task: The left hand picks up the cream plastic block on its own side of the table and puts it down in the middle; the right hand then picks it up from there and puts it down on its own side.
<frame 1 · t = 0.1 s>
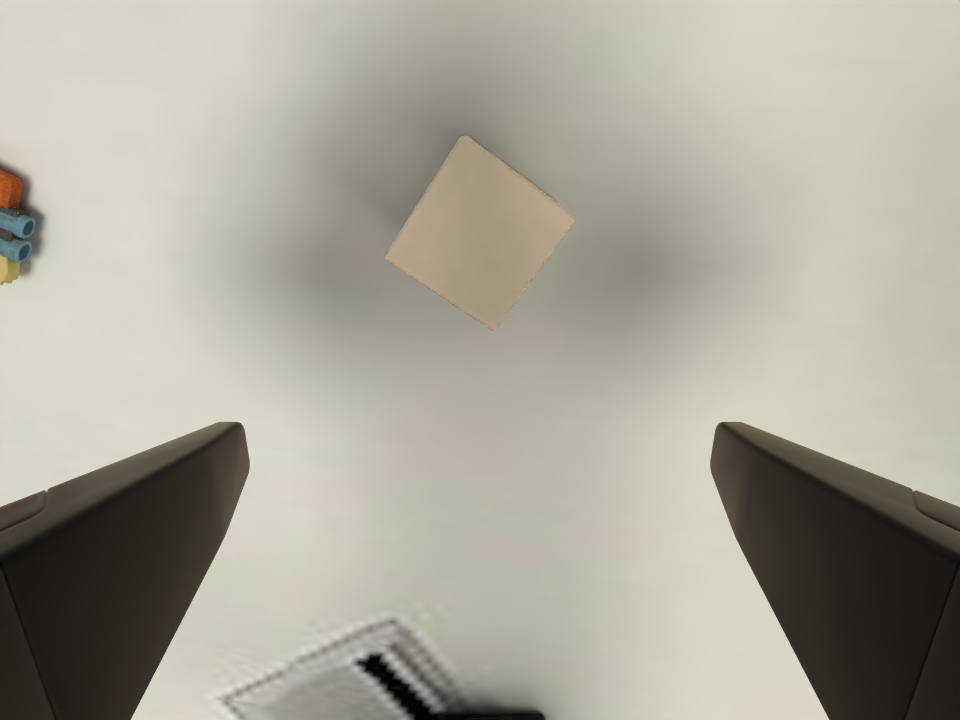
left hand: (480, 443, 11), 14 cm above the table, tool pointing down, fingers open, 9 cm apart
block: (478, 218, 24), on the table
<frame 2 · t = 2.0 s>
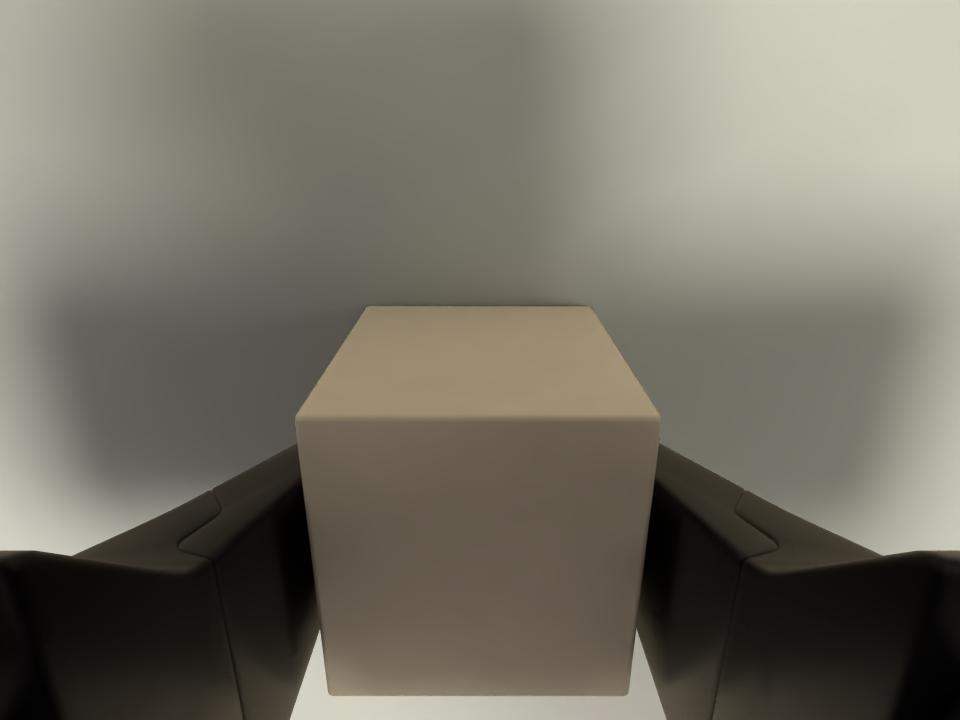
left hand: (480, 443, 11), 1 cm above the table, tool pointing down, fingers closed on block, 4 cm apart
block: (478, 410, 13), on the table, touching left hand
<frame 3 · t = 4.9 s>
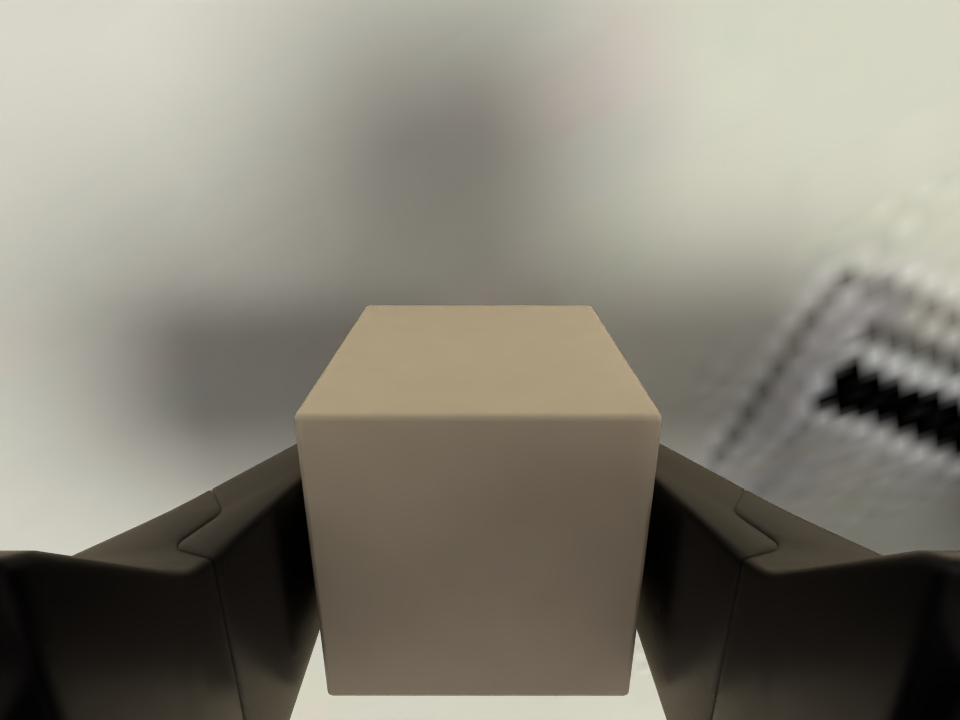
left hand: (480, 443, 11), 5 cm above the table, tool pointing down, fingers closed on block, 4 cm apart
block: (478, 410, 13), point 4 cm above the table, touching left hand
when the left hand's fingers open (2 cm above the table, at t = 8.0 s): block stays where it is, on the table.
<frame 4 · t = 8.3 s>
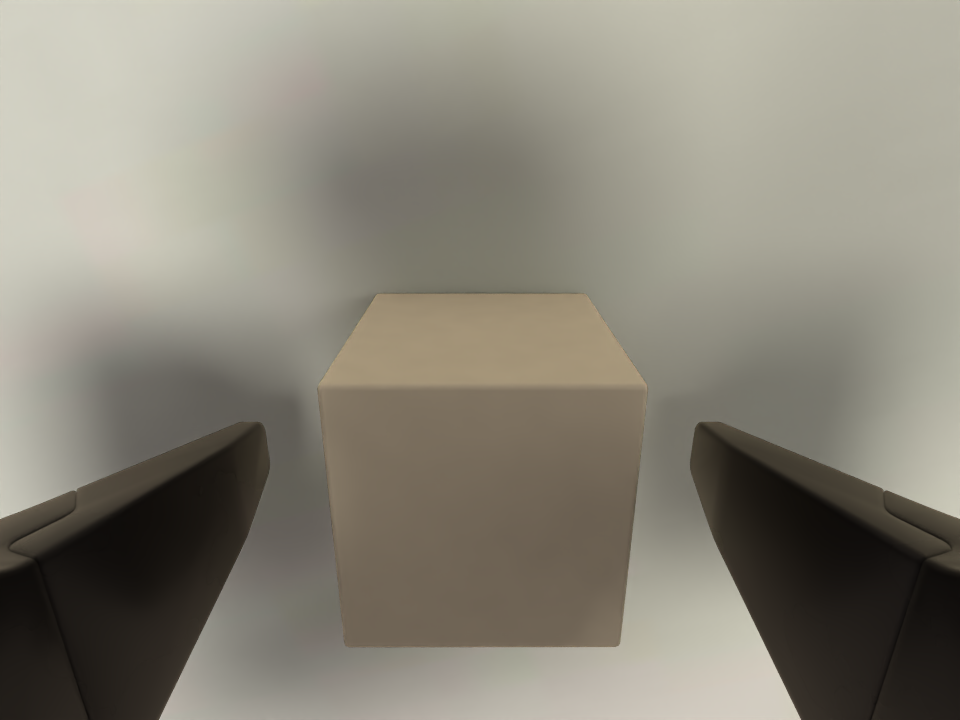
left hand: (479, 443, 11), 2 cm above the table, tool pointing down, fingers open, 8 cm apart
block: (481, 392, 13), on the table
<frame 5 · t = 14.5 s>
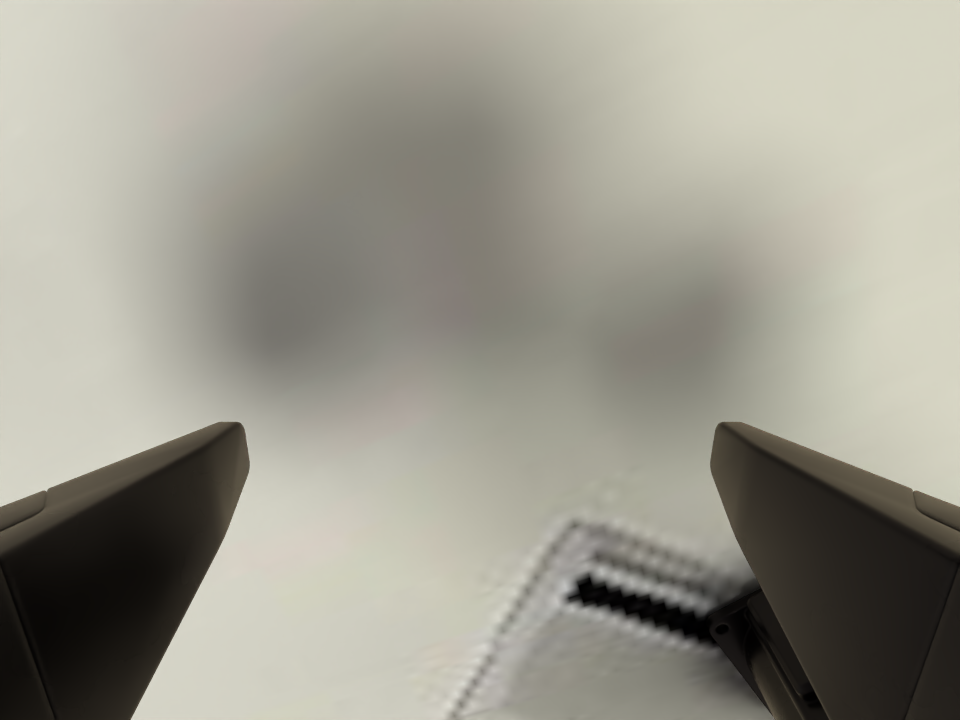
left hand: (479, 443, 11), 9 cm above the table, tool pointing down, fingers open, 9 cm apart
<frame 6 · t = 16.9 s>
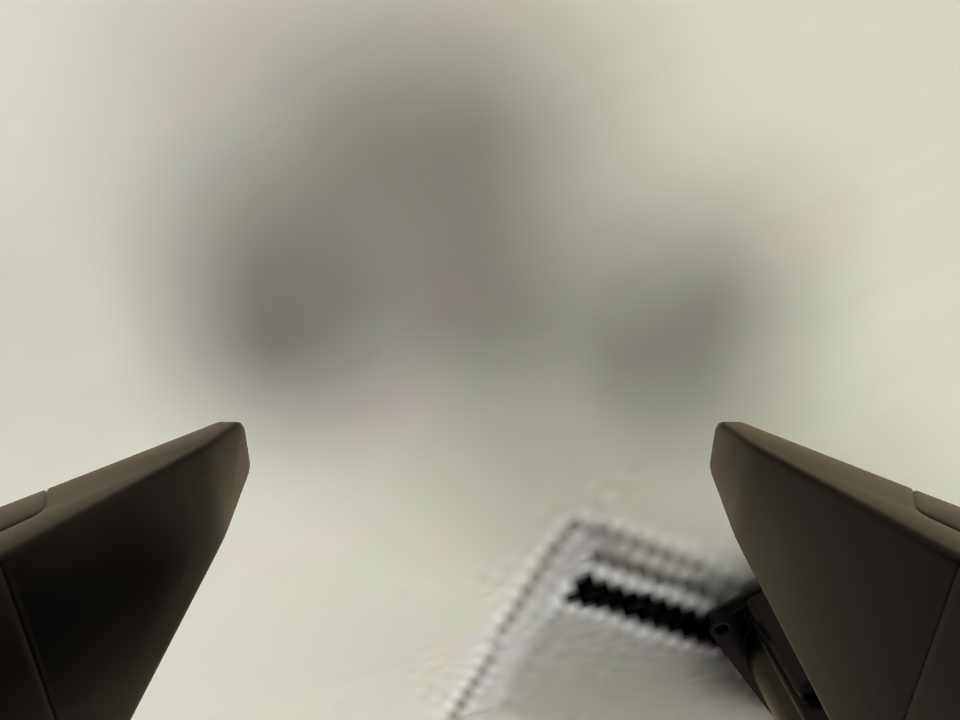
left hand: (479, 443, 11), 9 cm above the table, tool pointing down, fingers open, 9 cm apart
when the right hand's fingers open (2 cm above the table, at t = 19.4 s): block stays where it is, on the table.
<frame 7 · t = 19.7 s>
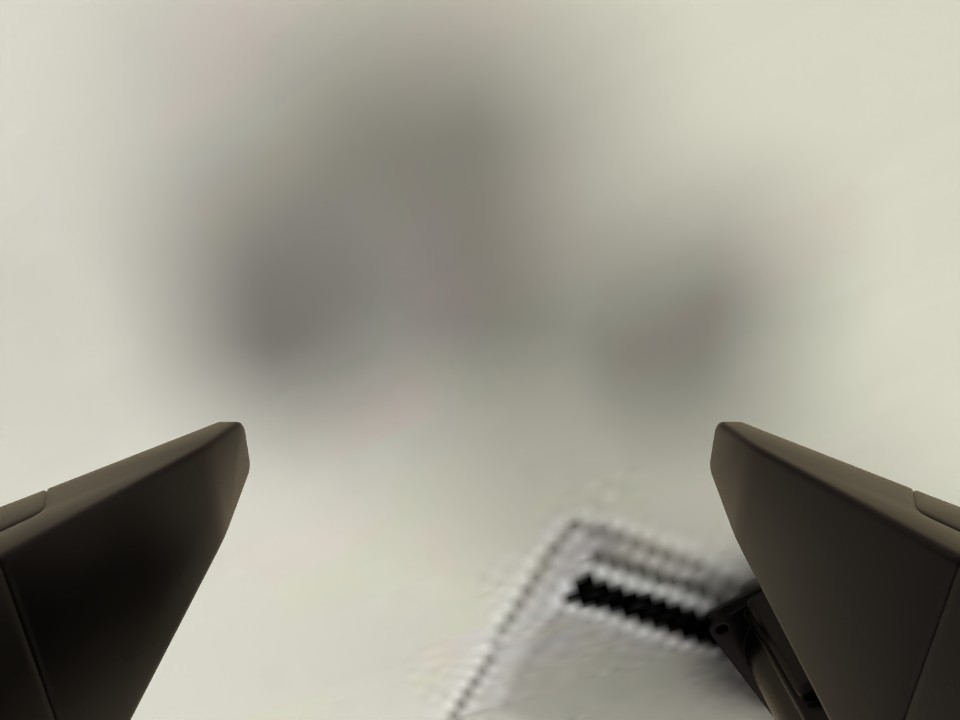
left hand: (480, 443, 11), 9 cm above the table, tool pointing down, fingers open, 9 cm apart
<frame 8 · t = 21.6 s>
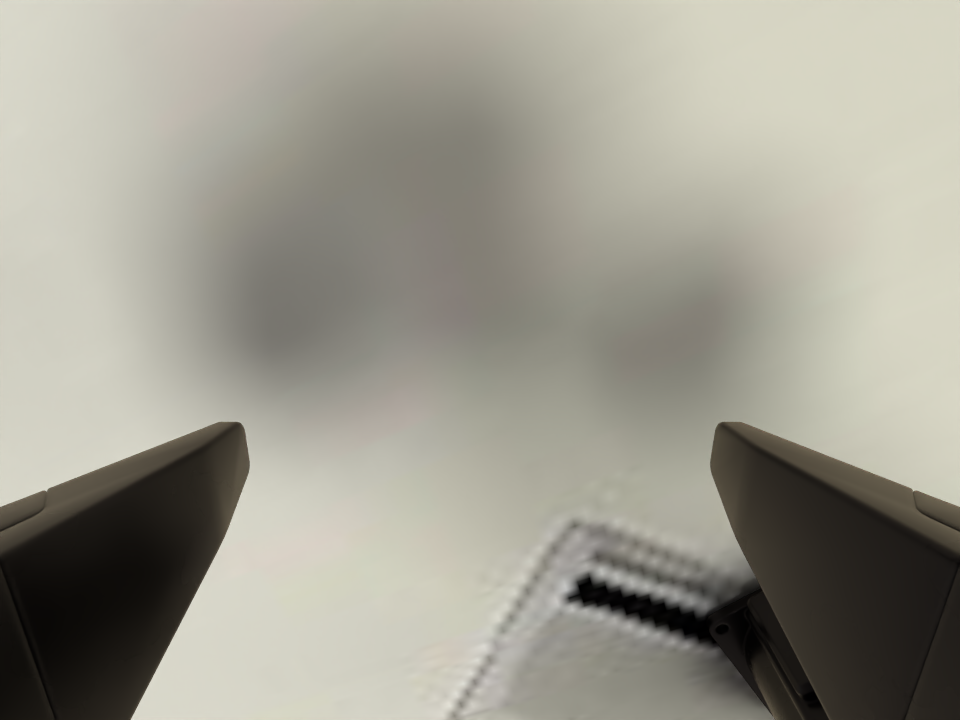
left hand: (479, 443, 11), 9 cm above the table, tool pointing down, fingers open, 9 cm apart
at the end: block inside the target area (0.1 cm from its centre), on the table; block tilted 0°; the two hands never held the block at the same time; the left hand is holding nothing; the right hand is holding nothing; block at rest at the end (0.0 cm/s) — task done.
